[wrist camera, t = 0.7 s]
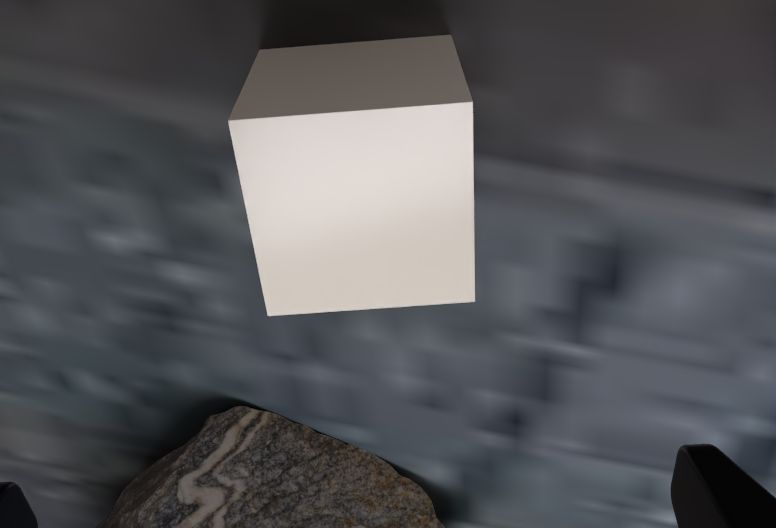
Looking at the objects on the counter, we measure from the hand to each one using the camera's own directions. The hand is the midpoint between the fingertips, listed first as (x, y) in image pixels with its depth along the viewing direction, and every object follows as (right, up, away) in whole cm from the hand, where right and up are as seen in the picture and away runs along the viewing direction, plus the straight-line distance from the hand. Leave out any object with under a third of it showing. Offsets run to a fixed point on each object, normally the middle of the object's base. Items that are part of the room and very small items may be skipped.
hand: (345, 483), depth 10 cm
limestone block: (0, +7, +10) cm, 12 cm away
